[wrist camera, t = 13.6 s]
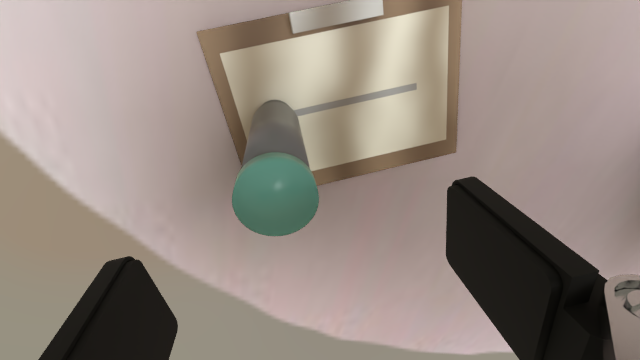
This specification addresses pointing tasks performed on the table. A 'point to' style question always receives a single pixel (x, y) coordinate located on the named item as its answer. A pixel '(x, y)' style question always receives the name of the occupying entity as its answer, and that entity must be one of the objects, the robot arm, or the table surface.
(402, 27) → the clipboard
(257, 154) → the marker
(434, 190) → the table surface
